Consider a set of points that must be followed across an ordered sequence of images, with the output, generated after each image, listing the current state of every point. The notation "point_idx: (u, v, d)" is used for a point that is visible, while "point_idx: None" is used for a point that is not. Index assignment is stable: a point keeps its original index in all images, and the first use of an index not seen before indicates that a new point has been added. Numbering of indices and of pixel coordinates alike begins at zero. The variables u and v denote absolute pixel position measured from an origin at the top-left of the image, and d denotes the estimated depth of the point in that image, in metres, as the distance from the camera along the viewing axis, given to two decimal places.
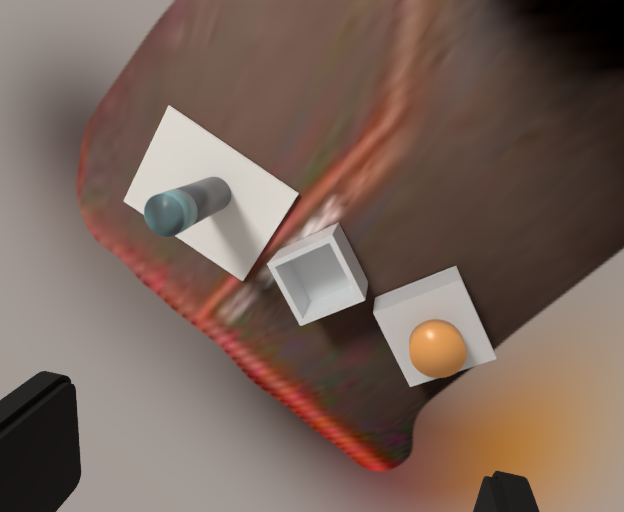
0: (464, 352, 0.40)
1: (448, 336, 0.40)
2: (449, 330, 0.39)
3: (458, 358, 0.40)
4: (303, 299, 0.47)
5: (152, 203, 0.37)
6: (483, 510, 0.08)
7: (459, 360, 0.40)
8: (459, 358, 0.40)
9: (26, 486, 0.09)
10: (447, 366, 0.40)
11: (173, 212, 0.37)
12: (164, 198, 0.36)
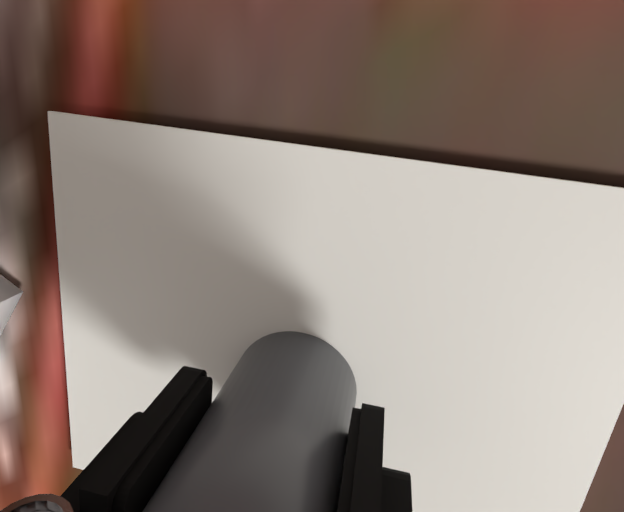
0: None
1: None
2: None
3: None
4: None
5: None
6: None
7: None
8: None
9: None
10: None
11: None
12: None
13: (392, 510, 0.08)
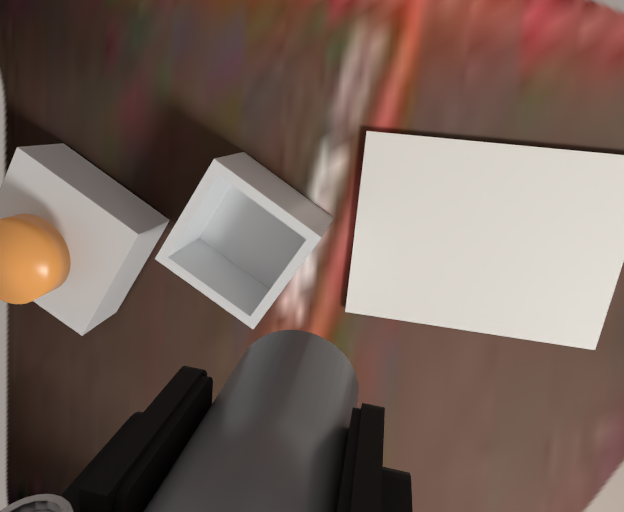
0: None
1: (16, 296, 0.26)
2: (22, 303, 0.26)
3: None
4: None
5: None
6: None
7: None
8: None
9: None
10: None
11: None
12: None
13: (392, 510, 0.08)
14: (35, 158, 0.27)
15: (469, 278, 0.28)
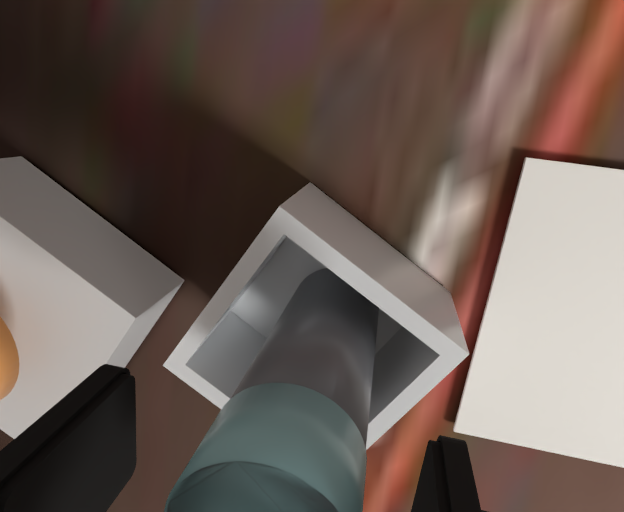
0: None
1: None
2: None
3: None
4: None
5: None
6: (426, 471, 0.09)
7: None
8: None
9: (95, 472, 0.09)
10: None
11: None
12: None
13: None
14: None
15: None
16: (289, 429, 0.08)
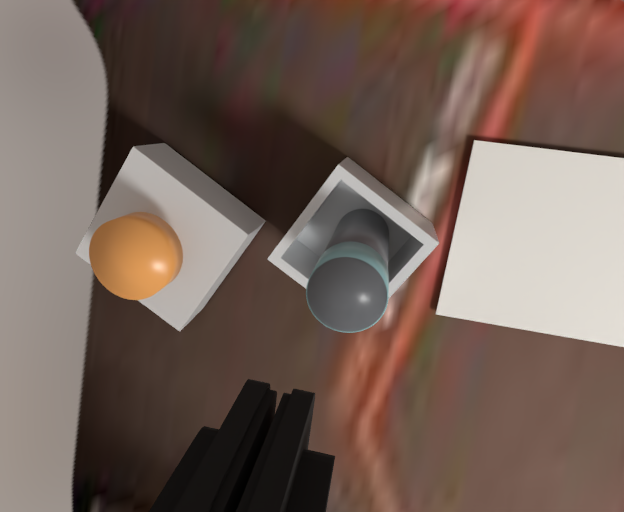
0: (101, 280, 0.27)
1: (133, 292, 0.27)
2: (138, 299, 0.27)
3: (101, 268, 0.26)
4: None
5: (375, 305, 0.20)
6: None
7: (98, 266, 0.26)
8: (100, 268, 0.27)
9: None
10: (104, 248, 0.26)
11: (333, 307, 0.20)
12: (357, 323, 0.20)
13: (308, 490, 0.09)
14: (150, 158, 0.28)
15: (564, 285, 0.29)
16: (358, 251, 0.20)
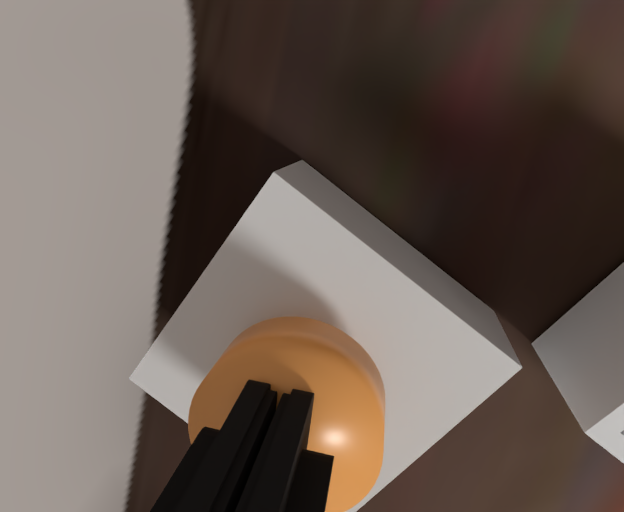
0: None
1: None
2: None
3: None
4: None
5: None
6: None
7: None
8: None
9: None
10: (226, 412, 0.11)
11: None
12: None
13: (308, 490, 0.09)
14: (308, 197, 0.13)
15: None
16: None
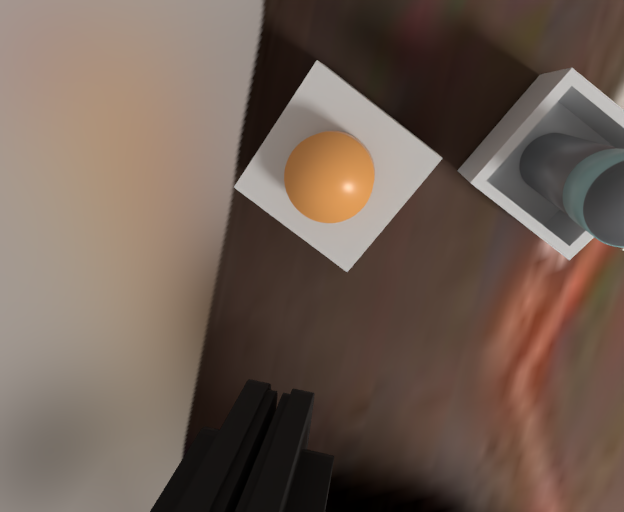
0: (295, 202, 0.25)
1: (330, 214, 0.25)
2: (333, 222, 0.25)
3: (296, 188, 0.25)
4: (566, 99, 0.25)
5: None
6: None
7: (293, 186, 0.25)
8: (295, 189, 0.25)
9: None
10: (302, 167, 0.25)
11: (612, 218, 0.18)
12: None
13: (308, 490, 0.09)
14: (334, 73, 0.25)
15: None
16: None
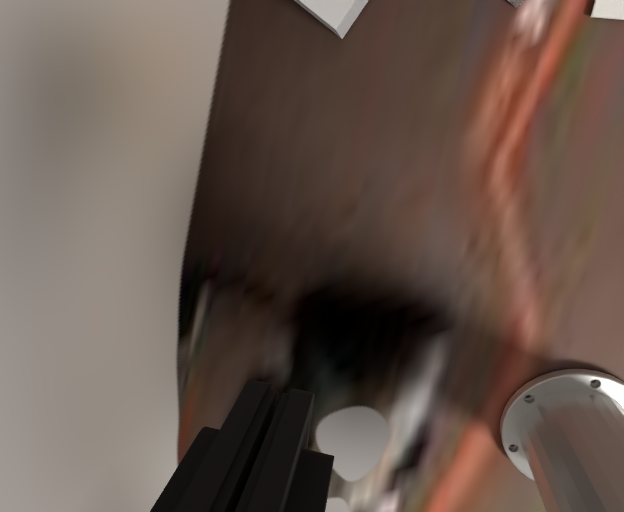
0: None
1: None
2: None
3: None
4: None
5: None
6: None
7: None
8: None
9: None
10: None
11: None
12: None
13: (307, 490, 0.09)
14: None
15: None
16: None
